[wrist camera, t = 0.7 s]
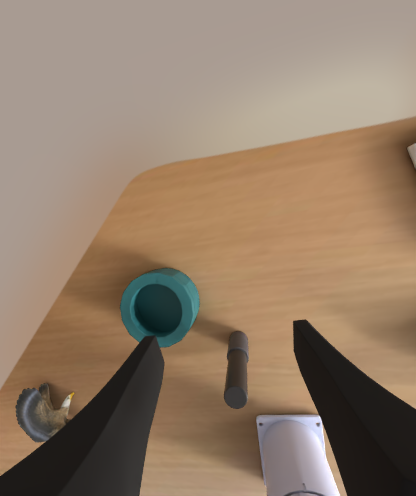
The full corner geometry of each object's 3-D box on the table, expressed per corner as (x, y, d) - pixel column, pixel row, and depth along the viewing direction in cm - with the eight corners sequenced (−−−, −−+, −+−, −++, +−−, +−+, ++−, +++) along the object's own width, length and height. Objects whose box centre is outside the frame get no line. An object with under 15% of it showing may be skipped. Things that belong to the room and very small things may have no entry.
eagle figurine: (97, 395, 33) (36, 370, 32) (61, 461, 27) (-13, 432, 27) (93, 408, 38) (41, 386, 37) (62, 466, 32) (0, 441, 32)
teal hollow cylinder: (203, 330, 31) (197, 345, 27) (141, 335, 33) (125, 349, 28) (194, 264, 31) (187, 269, 27) (132, 271, 32) (115, 277, 28)
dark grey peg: (249, 348, 30) (251, 411, 19) (230, 349, 31) (223, 411, 20) (246, 330, 30) (248, 383, 19) (228, 331, 31) (219, 384, 20)
